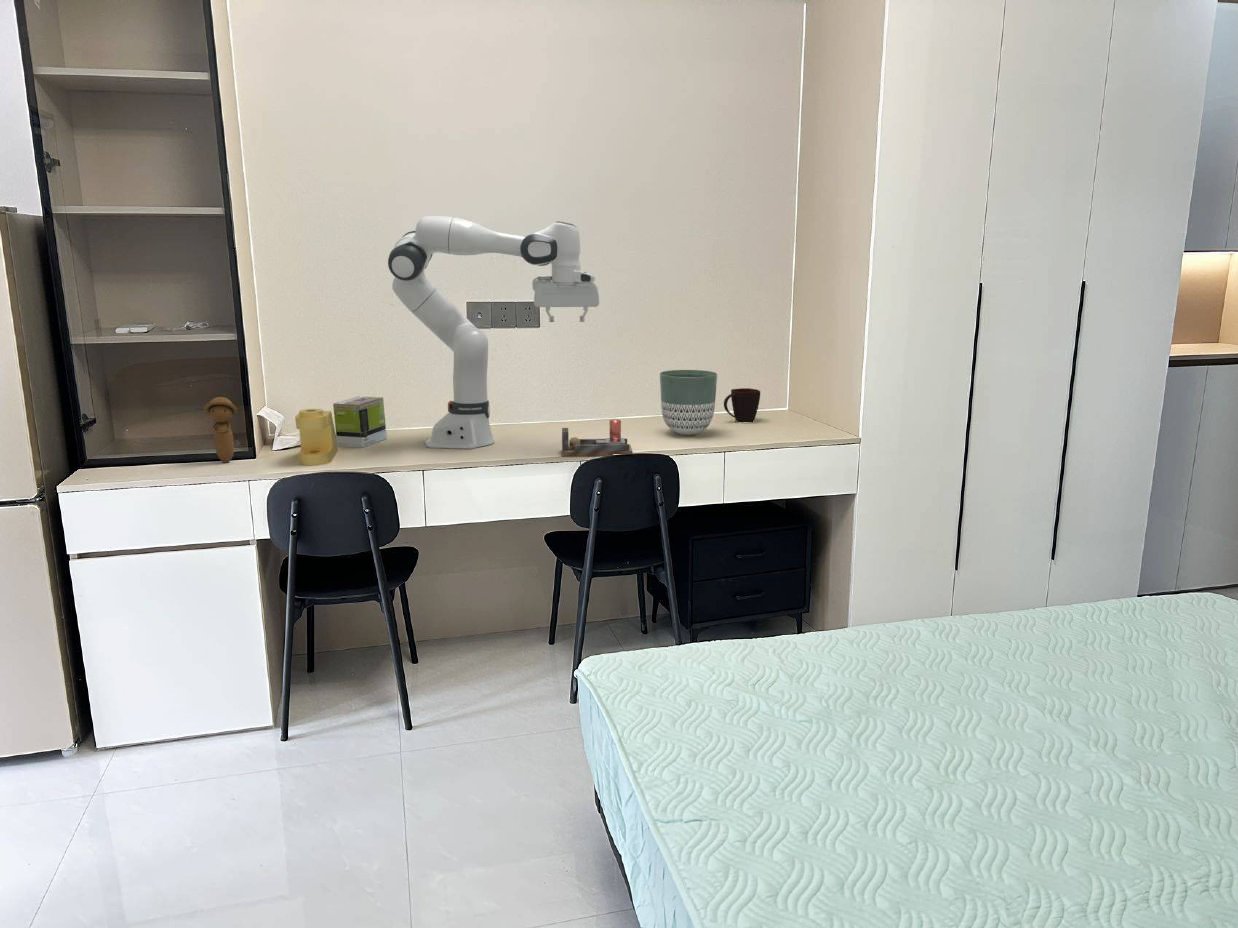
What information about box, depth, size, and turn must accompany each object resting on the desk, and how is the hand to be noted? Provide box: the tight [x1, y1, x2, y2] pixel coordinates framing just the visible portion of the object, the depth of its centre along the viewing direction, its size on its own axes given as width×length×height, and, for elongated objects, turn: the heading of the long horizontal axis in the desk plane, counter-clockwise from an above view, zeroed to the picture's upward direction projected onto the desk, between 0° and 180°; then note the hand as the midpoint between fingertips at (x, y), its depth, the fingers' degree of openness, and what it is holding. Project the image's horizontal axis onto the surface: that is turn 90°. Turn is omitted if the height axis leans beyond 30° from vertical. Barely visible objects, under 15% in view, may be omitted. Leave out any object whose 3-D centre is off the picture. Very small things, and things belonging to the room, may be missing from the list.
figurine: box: [203, 396, 238, 463], centre depth 265 cm, size 9×7×20 cm
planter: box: [659, 369, 718, 436], centre depth 307 cm, size 20×20×21 cm
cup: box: [723, 387, 761, 423], centre depth 330 cm, size 10×14×12 cm
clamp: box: [294, 408, 339, 467], centre depth 271 cm, size 20×9×16 cm, turn 10°
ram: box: [596, 418, 625, 445], centre depth 279 cm, size 9×7×9 cm
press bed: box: [561, 427, 634, 458], centre depth 280 cm, size 22×10×8 cm, turn 94°
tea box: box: [332, 396, 387, 449], centre depth 293 cm, size 15×10×15 cm
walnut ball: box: [569, 436, 580, 446], centre depth 279 cm, size 4×4×4 cm
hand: (566, 321), depth 273 cm, fingers open, 8 cm apart
